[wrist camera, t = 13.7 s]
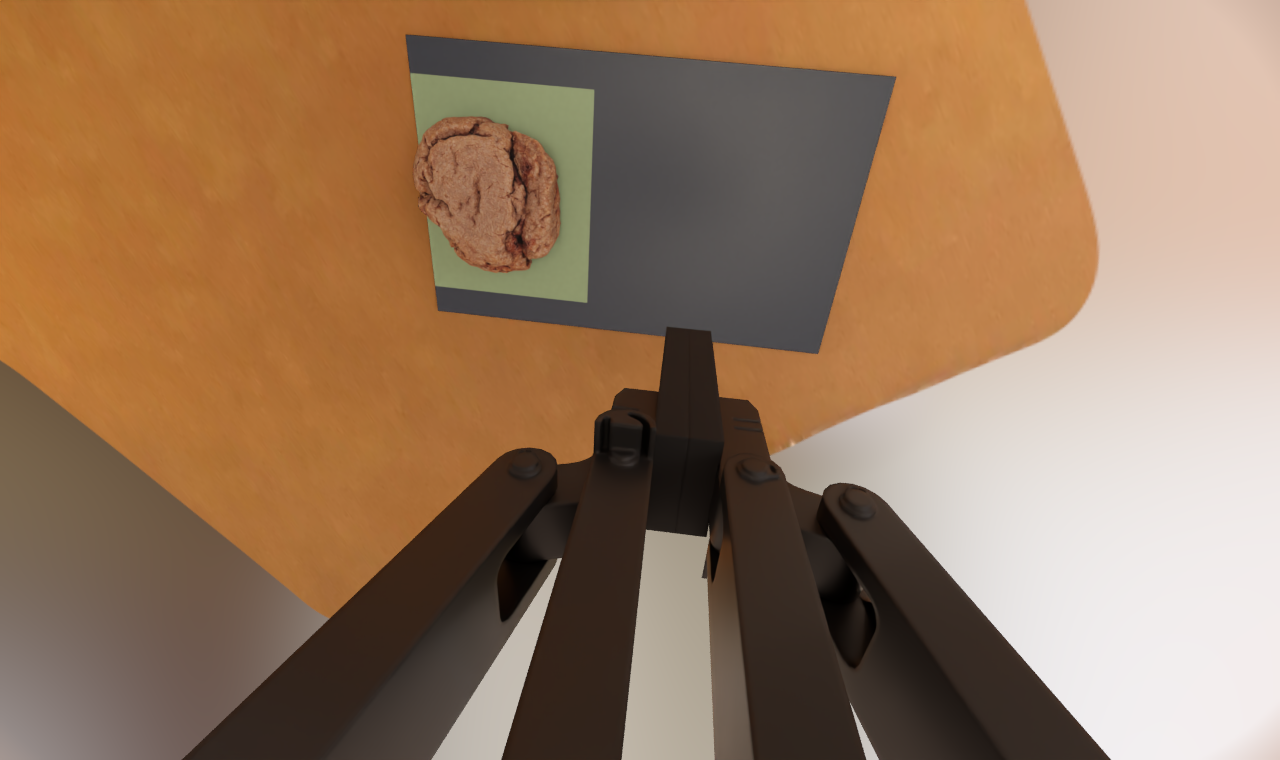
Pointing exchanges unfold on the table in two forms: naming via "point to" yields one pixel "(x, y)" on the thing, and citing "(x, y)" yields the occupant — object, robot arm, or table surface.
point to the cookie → (488, 192)
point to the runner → (666, 186)
